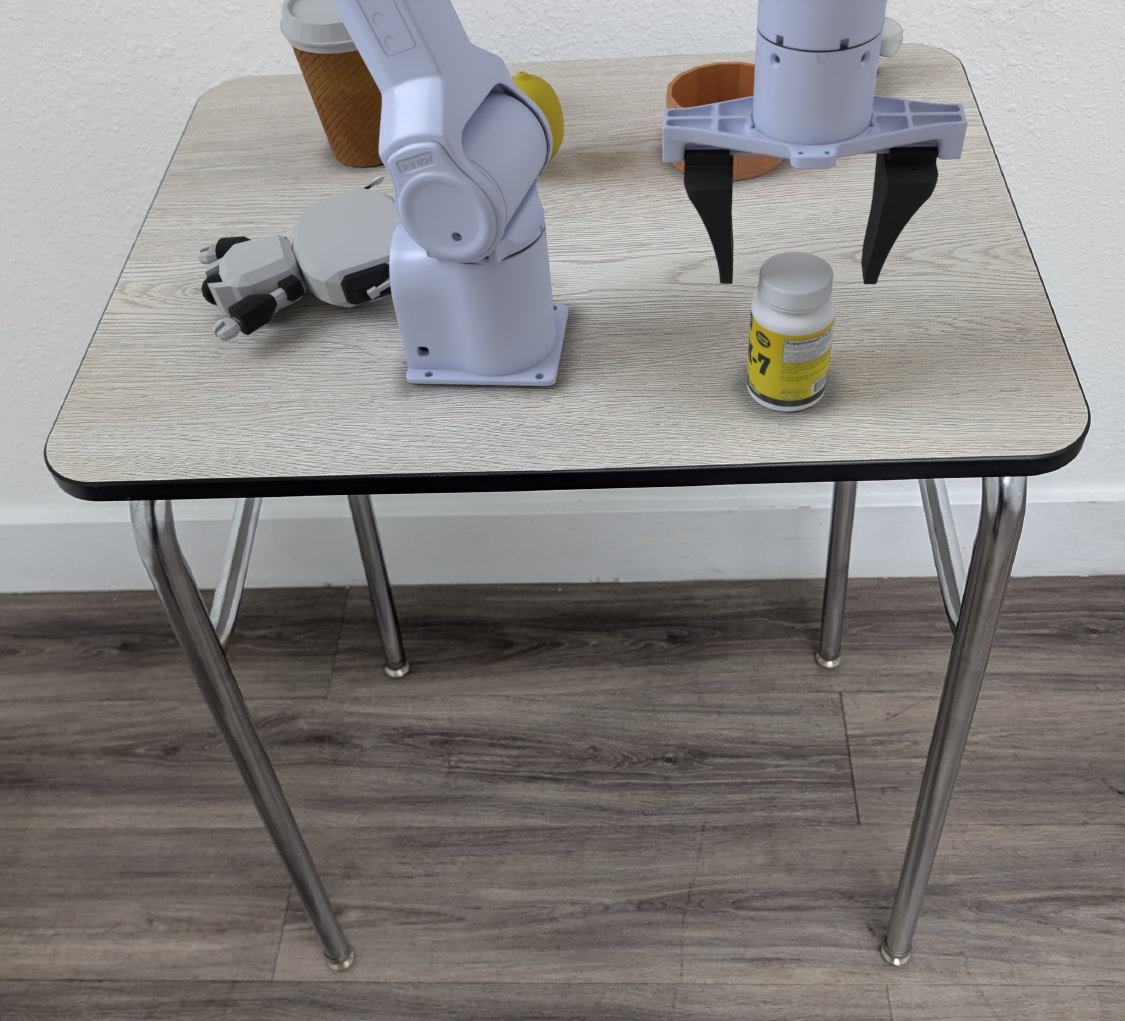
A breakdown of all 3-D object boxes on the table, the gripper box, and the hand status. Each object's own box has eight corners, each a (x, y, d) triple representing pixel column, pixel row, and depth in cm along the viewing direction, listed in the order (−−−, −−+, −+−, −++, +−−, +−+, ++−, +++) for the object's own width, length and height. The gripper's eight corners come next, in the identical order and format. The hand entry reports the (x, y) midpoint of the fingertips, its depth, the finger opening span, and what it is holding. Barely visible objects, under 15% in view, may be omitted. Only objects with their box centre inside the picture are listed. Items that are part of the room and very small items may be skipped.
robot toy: (228, 379, 73) (444, 308, 74) (202, 325, 69) (429, 252, 71) (208, 280, 81) (403, 218, 83) (183, 227, 77) (387, 164, 79)
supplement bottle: (737, 368, 68) (743, 252, 62) (812, 358, 68) (825, 241, 62) (757, 419, 65) (765, 302, 59) (835, 408, 65) (852, 290, 59)
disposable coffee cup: (293, 171, 89) (252, 22, 81) (345, 115, 95) (311, -29, 87) (400, 183, 87) (369, 30, 78) (446, 125, 93) (422, -23, 84)
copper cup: (664, 181, 84) (663, 119, 80) (670, 122, 90) (669, 62, 87) (787, 181, 83) (792, 118, 79) (784, 121, 89) (789, 60, 85)
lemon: (533, 147, 89) (523, 49, 83) (581, 168, 86) (575, 68, 80) (482, 175, 87) (468, 76, 81) (531, 198, 84) (520, 97, 78)
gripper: (656, 68, 49) (660, 316, 59) (996, 60, 47) (942, 318, 57) (665, 2, 54) (667, 242, 64) (974, -7, 52) (927, 242, 62)
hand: (797, 273), depth 61 cm, fingers open, 7 cm apart
